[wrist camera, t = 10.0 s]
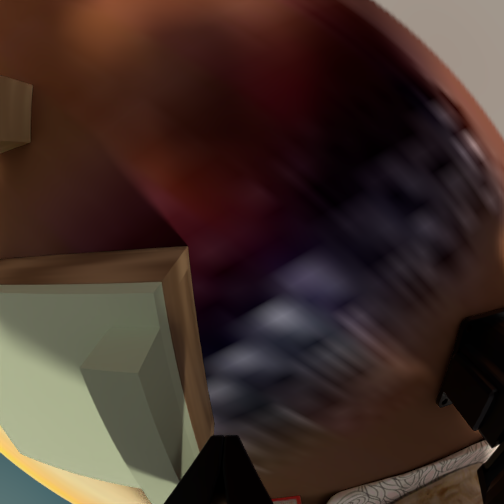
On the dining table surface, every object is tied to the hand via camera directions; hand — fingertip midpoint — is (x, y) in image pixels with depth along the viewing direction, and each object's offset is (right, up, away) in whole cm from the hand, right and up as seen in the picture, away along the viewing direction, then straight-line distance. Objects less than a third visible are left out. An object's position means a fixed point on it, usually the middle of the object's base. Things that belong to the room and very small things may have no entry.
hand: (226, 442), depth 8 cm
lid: (-7, 0, +1) cm, 7 cm away
